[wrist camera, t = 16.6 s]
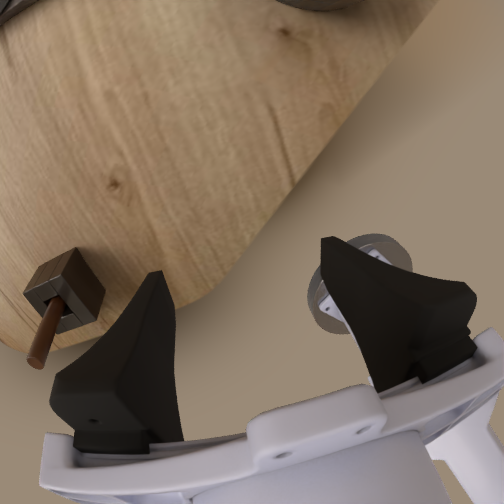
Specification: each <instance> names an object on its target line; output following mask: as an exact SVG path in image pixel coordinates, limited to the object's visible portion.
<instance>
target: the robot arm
mask: <svg viewBox="0 0 504 504" xmlns="http://www.w3.org/2000/svg"><path fill="white" fill-rule="evenodd" d="M376 256H377V257H376ZM375 257H376V258H375ZM320 275H321V277H322V280H323V282H324V284H325V287H326V289H327V291H328V293H329V295H328V296H327V297H326V298H325V299H324V300H323V301H322V302H321V303H320V305H319V308H320V310H321V311H323V312H325V313H327V314H328V315H330V316H332V317H334V318H336V319H338V320H340V321H342V322H344V323H345V325H346V327H347V328H348V330H349V332H350V334H351V335H352V337H353V339H354V341H355V343H356V344H357V346H358V348H359V349H360V351H361V353H362V355H363V358H364V360H365V363H366V365H367V368H368V371H369V374H370V376H369V377H368V380H369V382H370V384H371V386H370V385H366V384H359V385H354V386H349V387H346V388H343V389H340V390H337V391H334V392H331V393H328V394H325V395H322V396H318V397H315V398H311V399H308V400H304V401H301V402H297V403H293V404H289V405H285V406H281V407H277V408H274V409H271V410H269V411H265V412H262V413H260V414H259V415H257V416H256V417H254V418H253V419H251V420H250V421H249V422H248V425H247V428H246V432H245V433H240V434H235V435H229V436H222V437H215V438H209V439H201V440H192V441H184V438H183V433H182V428H181V422H180V416H179V411H178V403H177V395H176V387H175V377H174V353H175V331H176V329H175V328H176V321H175V307H174V303H173V300H172V297H171V295H170V292H169V289H168V286H167V283H166V281H165V278H164V275H163V272H162V270H161V271H156V272H151V273H149V274H148V275H147V277H146V278H145V280H144V281H143V283H142V284H141V286H140V287H139V289H138V291H137V292H136V294H135V295H134V297H133V298H132V300H131V301H130V303H129V304H128V306H127V307H126V308H125V310H124V311H123V313H122V314H121V315H120V317H119V318H118V319H117V321H116V322H115V323H114V324H113V325H112V327H111V328H110V329H109V330H108V331H107V332H106V333H105V334H104V335H103V336H102V337H101V338H100V339H99V340H98V341H97V342H96V343H95V344H94V345H93V346H92V347H91V348H90V349H89V350H88V351H87V352H86V353H84V354H83V355H82V356H81V357H79V358H78V359H77V360H75V361H74V362H73V363H72V364H70V365H68V366H67V367H66V368H64V369H63V370H61V371H60V372H58V373H57V374H56V376H55V380H54V384H53V387H52V392H51V396H50V400H49V401H50V406H51V408H52V409H53V411H54V412H55V413H56V414H57V415H58V416H59V417H60V418H61V419H62V420H64V421H65V422H66V423H67V424H68V425H70V426H71V427H72V428H73V429H74V430H75V432H74V437H73V436H71V435H68V434H60V433H49V432H47V433H45V439H44V446H43V453H42V461H41V469H40V479H39V485H40V486H41V487H43V488H45V489H47V490H49V491H51V492H53V493H55V494H58V495H60V496H62V497H64V498H67V499H69V500H72V501H74V502H77V503H81V504H452V501H451V499H450V497H449V495H448V493H447V490H446V488H445V486H444V484H443V482H442V480H441V478H440V476H439V474H438V471H437V470H436V467H435V465H434V463H433V462H432V460H444V461H445V462H446V464H447V465H448V467H449V468H450V469H451V471H452V472H453V474H454V475H455V477H456V478H457V480H458V481H459V483H460V484H461V486H462V487H463V488H464V490H465V491H466V493H467V494H468V496H469V497H470V499H471V500H472V502H473V503H474V504H504V446H503V444H502V443H501V442H500V440H499V438H498V437H497V435H496V434H495V432H494V431H493V429H492V427H491V426H490V424H489V420H490V418H491V415H492V412H493V409H494V406H495V404H496V401H497V398H498V394H499V391H500V390H501V388H503V386H504V340H503V339H502V338H501V337H500V336H499V334H498V333H497V332H496V331H495V330H494V328H492V327H490V328H488V329H487V330H485V331H483V332H482V333H480V334H478V335H477V336H476V337H475V338H474V339H473V340H472V339H470V337H469V336H468V335H469V334H470V333H471V331H470V329H469V328H468V327H467V324H468V322H469V320H470V318H471V316H472V314H473V312H474V309H475V307H476V302H477V297H476V294H475V293H474V292H473V291H472V290H471V288H470V287H469V286H468V285H467V284H466V283H465V282H459V281H450V280H443V279H437V278H432V277H428V276H423V275H420V274H416V273H413V272H410V271H406V270H404V269H401V268H398V267H396V266H393V265H392V264H391V263H390V262H389V261H388V260H387V259H386V258H385V257H384V256H383V255H382V254H380V253H379V252H378V251H377V250H376V249H373V250H371V251H370V252H369V253H368V254H367V253H365V252H363V251H361V250H359V249H357V248H356V247H354V246H352V245H350V244H348V243H346V242H344V241H343V240H341V239H339V238H336V237H334V236H331V237H326V238H321V266H320Z"/></svg>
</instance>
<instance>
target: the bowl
mask: <svg viewBox="0 0 504 504" xmlns="http://www.w3.org/2000/svg"><path fill="white" fill-rule="evenodd" d="M276 1H279V2H281V3H284V4H286V5H290V6H293V7H296V8H301V9H306V10H314V11H329V10H337V9H342V8H345V7H347V6H350V5H353V4H356V3H359V2H361V1H364V0H276Z"/></svg>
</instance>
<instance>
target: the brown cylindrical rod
mask: <svg viewBox="0 0 504 504" xmlns="http://www.w3.org/2000/svg"><path fill="white" fill-rule="evenodd" d="M65 307H66V303H65V301H64V300H63V299H62V298H61V296H60V295H57V296H55V297H53V298H52V299H51V301H50V303H49V305H48V307H47V309H46V312H45V314H44V316H43V318H42V321H41V323H40V325H39V328H38V330H37V333H36V335H35V337H34V340H33V342H32V345H31V348H30V350H29V353H28V356H27V362H28V364H29V365H30V366H32V367H33V368H35V369H39V370H41V369H43V368H44V366H45V362H46V359H47V356H48V353H49V350H50V347H51V344H52V341H53V338H54V336H55V333H56V330H57V327H58V325H59V322H60V320H61V317H62V314H63V312H64V309H65Z"/></svg>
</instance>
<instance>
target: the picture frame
mask: <svg viewBox="0 0 504 504" xmlns="http://www.w3.org/2000/svg"><path fill="white" fill-rule="evenodd" d="M36 1H38V0H0V26H1V25H2V24H4V23H5V22H6V21H8V20H9V19H10V18H12V17H13V16H15V15H16V14H18V13H19V12H21V11H22V10H24V9H25V8H27V7H28V6H30V5H32V4H33V3H35V2H36Z"/></svg>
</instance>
